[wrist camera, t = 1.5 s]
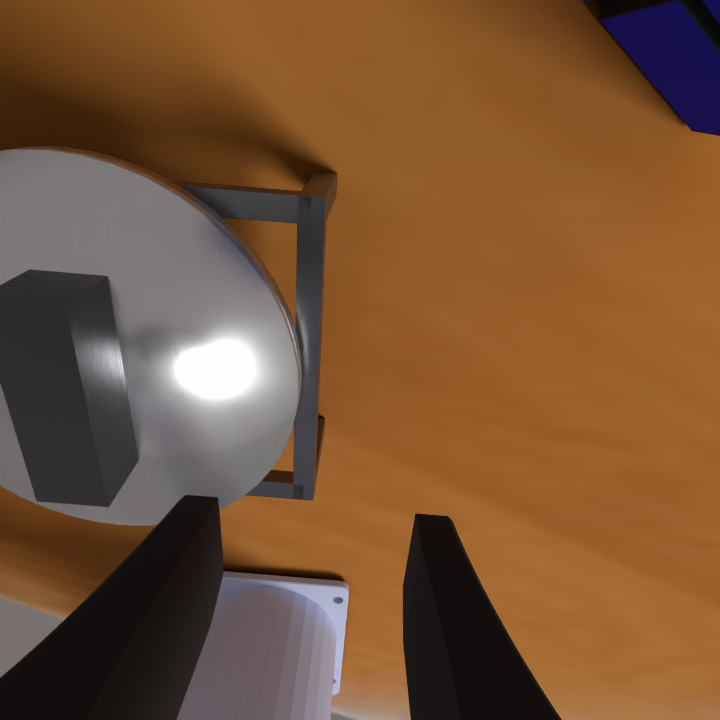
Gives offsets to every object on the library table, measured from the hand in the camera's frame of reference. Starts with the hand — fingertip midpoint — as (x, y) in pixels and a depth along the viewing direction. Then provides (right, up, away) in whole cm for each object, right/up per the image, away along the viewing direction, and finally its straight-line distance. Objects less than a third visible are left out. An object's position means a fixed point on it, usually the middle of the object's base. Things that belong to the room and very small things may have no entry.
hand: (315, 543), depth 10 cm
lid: (-7, +3, +5) cm, 9 cm away
